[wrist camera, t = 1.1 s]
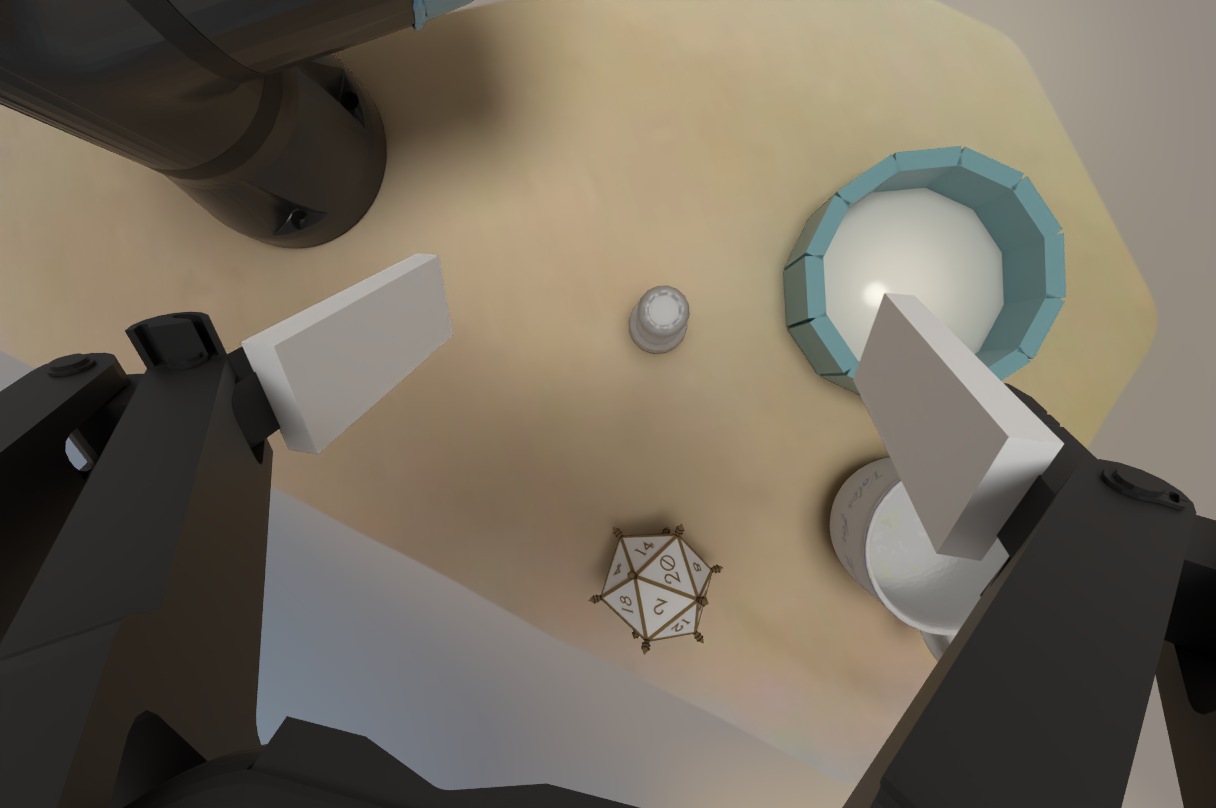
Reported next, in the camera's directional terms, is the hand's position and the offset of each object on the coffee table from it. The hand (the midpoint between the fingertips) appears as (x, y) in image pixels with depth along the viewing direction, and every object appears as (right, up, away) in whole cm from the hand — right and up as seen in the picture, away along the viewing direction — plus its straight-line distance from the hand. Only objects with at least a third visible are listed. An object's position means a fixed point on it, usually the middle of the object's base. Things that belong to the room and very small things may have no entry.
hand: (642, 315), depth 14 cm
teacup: (+20, -13, +22) cm, 33 cm away
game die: (+3, -15, +23) cm, 28 cm away
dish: (+21, +6, +21) cm, 30 cm away
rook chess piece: (+3, +3, +22) cm, 23 cm away
